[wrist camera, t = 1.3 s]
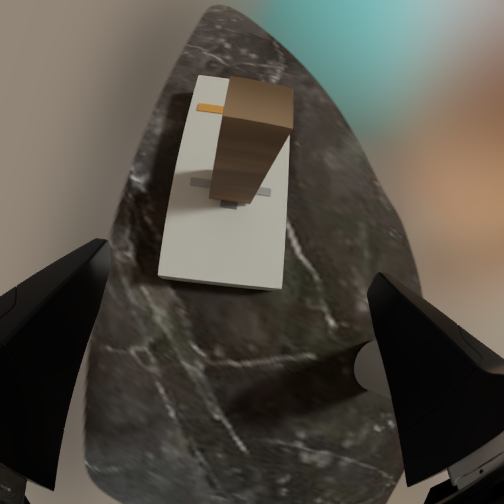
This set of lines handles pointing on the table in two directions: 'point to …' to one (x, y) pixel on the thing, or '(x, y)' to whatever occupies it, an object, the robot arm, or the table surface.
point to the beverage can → (371, 370)
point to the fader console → (221, 210)
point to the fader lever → (249, 137)
